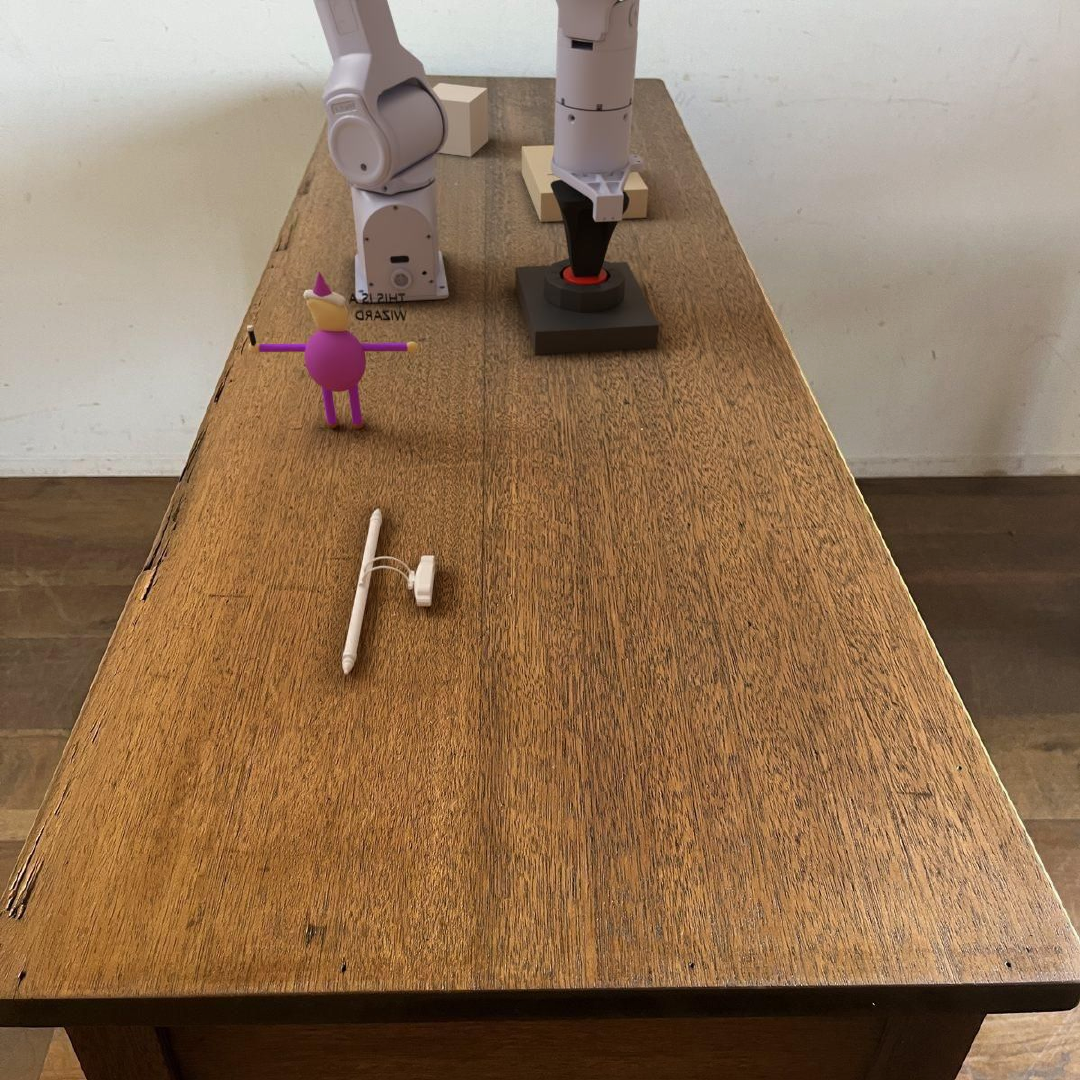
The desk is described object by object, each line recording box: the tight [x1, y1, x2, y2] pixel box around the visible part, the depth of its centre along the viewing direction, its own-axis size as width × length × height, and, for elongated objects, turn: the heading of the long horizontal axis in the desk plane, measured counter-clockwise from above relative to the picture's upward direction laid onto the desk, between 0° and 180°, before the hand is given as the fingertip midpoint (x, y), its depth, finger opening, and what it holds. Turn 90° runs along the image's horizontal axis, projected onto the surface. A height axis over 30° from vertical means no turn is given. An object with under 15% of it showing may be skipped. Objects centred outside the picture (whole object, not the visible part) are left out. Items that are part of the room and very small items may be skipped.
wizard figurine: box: [246, 271, 419, 430], centre depth 66 cm, size 11×3×12 cm, turn 92°
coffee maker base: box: [514, 258, 660, 356], centre depth 82 cm, size 12×10×4 cm
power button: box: [563, 266, 607, 286], centre depth 82 cm, size 4×4×2 cm
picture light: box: [341, 508, 436, 675], centre depth 56 cm, size 14×4×2 cm, turn 0°
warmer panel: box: [521, 144, 649, 223], centre depth 104 cm, size 14×11×3 cm
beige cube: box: [432, 82, 489, 158], centre depth 115 cm, size 6×6×6 cm
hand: (585, 273), depth 81 cm, fingers closed, pressing on power button
